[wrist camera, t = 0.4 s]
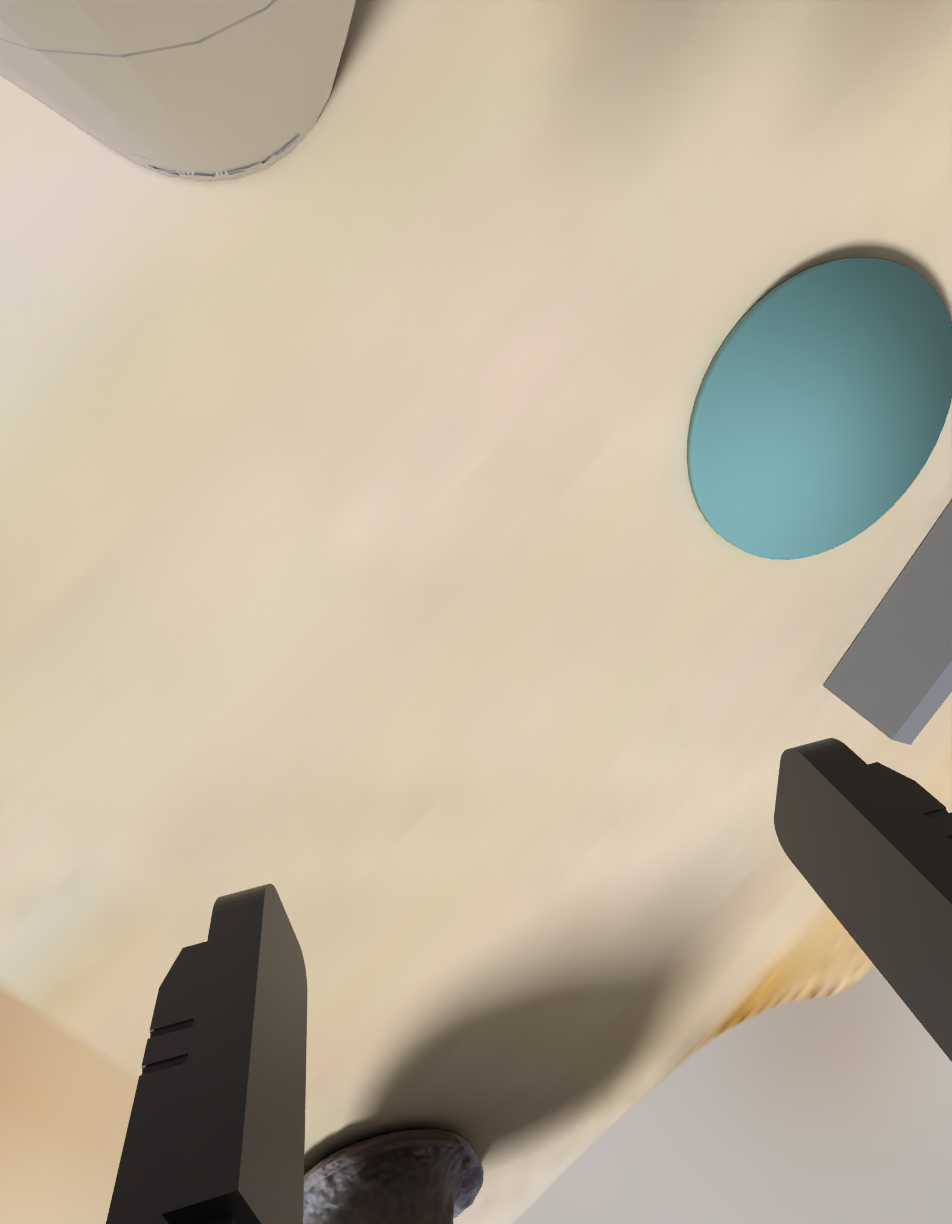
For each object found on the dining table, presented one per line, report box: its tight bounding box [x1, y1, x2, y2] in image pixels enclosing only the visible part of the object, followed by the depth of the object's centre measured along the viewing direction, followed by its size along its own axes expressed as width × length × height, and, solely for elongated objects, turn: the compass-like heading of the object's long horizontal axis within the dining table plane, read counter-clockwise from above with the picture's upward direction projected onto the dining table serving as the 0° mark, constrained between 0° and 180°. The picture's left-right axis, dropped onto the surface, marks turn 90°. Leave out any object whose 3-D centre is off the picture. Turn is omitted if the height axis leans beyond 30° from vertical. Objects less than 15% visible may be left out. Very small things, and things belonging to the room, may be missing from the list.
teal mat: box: [687, 258, 952, 560], centre depth 29 cm, size 13×13×1 cm
